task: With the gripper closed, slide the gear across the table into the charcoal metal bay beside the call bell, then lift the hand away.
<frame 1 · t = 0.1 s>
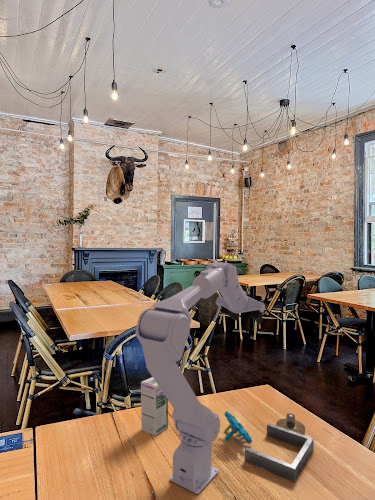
hand: (248, 319, 103), 32 cm above the table, tool tilted 50°, fingers open, 7 cm apart
call bell: (290, 432, 100), on the table
metal bay: (275, 453, 90), on the table
gear: (237, 439, 96), on the table
syrup box: (154, 429, 101), on the table
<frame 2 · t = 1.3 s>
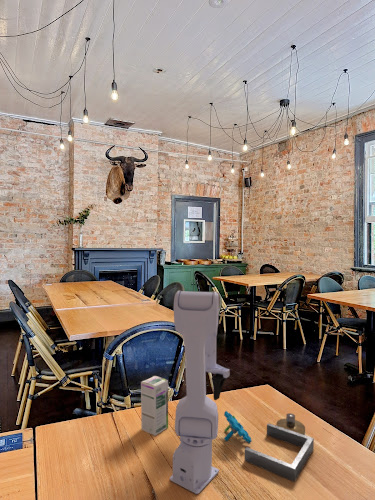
hand: (206, 395, 102), 9 cm above the table, tool pointing down, fingers open, 7 cm apart
nothing on the table moved.
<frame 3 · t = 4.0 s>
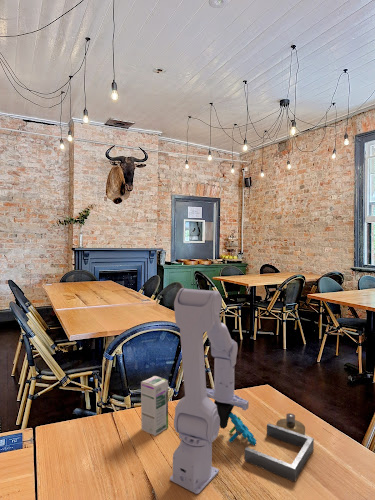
hand: (223, 426, 99), 2 cm above the table, tool pointing down, fingers closed
gear: (241, 441, 95), on the table, touching gripper
everything else where it was.
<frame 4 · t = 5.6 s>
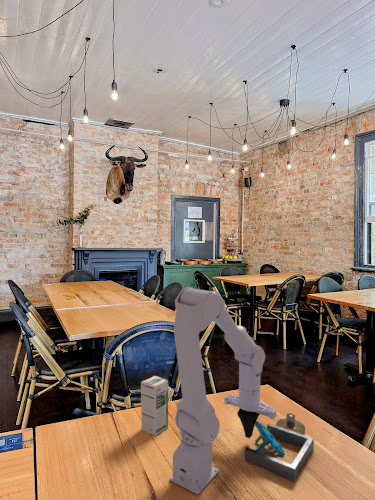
hand: (248, 436, 94), 2 cm above the table, tool pointing down, fingers closed
gear: (268, 451, 91), on the table, touching gripper
everything else where it was.
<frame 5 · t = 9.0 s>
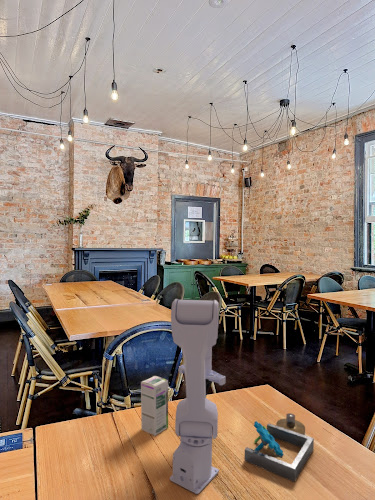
hand: (201, 403, 97), 9 cm above the table, tool pointing down, fingers closed
gear: (267, 452, 91), on the table
everything else where it was.
at the end: gear inside the target area on the metal bay (2.4 cm from its centre), point 0.0 cm above the metal bay's base; gear moved 9.1 cm from its start; gear tilted 0° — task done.
